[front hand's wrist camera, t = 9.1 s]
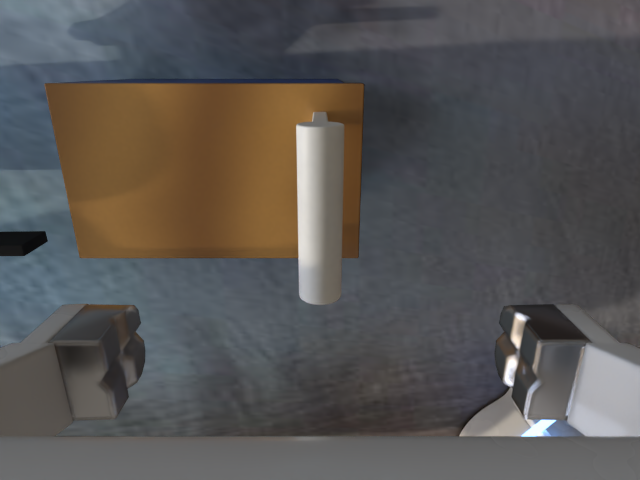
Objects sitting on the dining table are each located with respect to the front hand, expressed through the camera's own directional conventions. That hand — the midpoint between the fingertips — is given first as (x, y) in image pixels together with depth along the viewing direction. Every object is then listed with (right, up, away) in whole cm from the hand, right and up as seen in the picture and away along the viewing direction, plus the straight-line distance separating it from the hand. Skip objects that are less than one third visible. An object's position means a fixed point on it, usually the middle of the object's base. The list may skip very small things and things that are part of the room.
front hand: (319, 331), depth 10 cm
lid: (-6, +6, +15) cm, 17 cm away
